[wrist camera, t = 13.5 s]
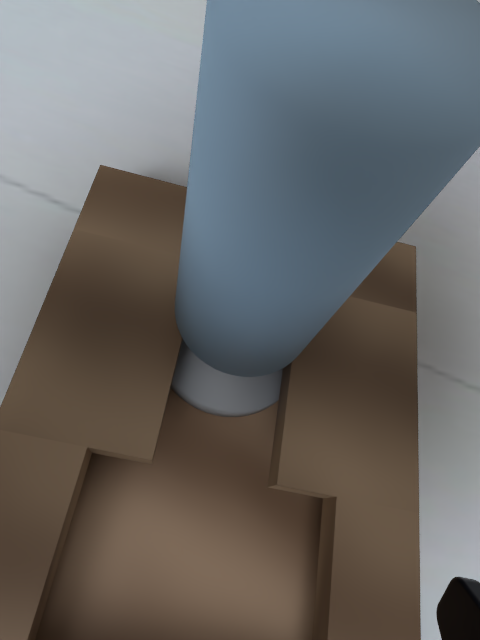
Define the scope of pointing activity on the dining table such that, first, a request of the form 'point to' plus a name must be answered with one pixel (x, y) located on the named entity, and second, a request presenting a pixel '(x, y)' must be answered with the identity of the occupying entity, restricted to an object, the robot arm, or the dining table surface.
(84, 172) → the dining table surface
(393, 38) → the keyhole stud
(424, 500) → the dining table surface
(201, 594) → the keyhole board
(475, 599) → the robot arm
